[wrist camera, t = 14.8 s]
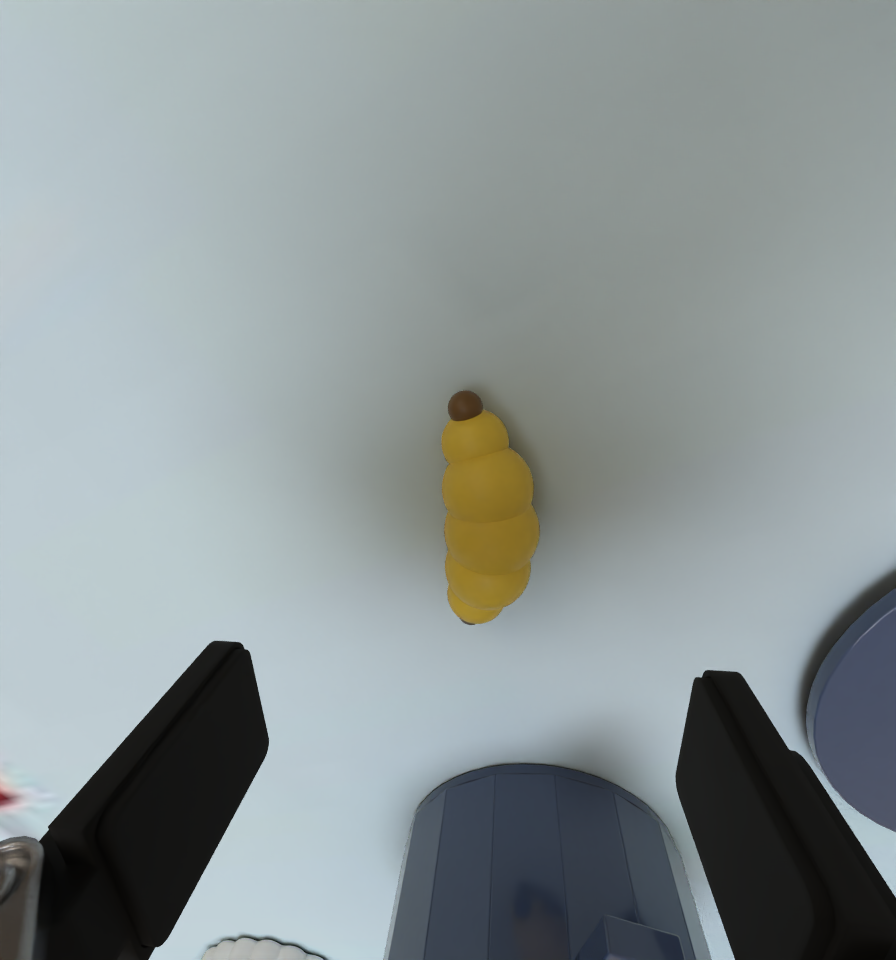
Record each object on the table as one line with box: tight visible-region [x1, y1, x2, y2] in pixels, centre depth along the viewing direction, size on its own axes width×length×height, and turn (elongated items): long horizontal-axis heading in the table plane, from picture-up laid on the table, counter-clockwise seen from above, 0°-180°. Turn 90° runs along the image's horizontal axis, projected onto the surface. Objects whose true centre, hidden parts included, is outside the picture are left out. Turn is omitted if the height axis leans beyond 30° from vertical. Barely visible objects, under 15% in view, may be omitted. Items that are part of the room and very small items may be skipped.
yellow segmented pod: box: [441, 390, 540, 625], centre depth 16 cm, size 9×3×3 cm, turn 2°
